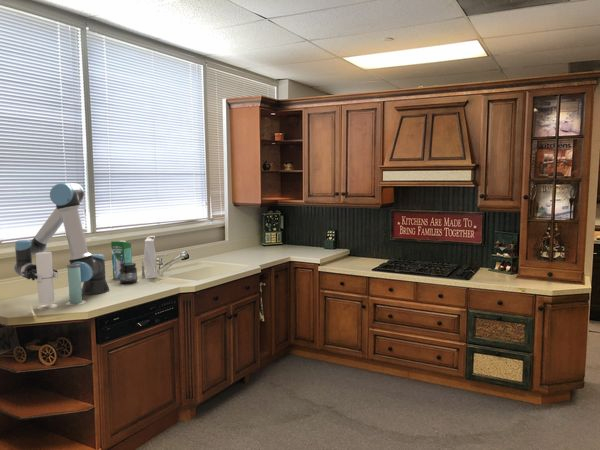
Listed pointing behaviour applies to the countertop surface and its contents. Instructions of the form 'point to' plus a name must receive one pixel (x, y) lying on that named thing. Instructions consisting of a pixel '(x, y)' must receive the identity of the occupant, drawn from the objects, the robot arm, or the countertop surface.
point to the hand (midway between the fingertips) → (49, 276)
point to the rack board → (56, 305)
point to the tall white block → (45, 277)
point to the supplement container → (128, 273)
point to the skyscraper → (149, 259)
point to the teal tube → (74, 283)
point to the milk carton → (120, 256)
